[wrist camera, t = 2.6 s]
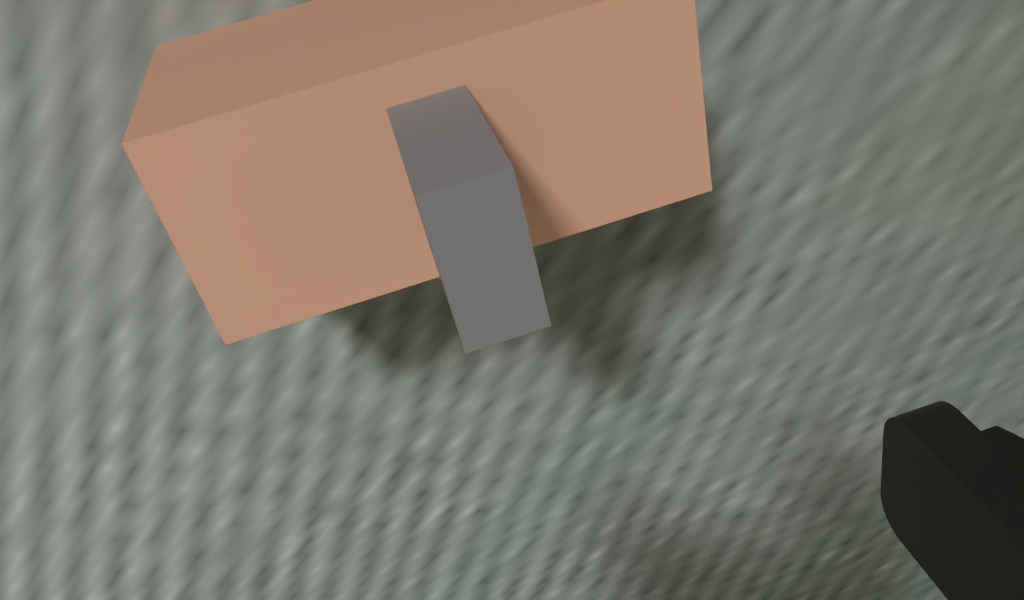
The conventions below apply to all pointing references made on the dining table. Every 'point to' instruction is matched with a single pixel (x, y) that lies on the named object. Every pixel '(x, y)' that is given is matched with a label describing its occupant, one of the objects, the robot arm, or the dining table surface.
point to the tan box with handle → (413, 149)
